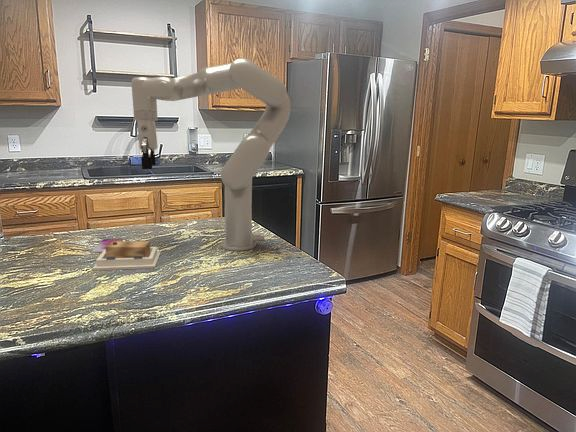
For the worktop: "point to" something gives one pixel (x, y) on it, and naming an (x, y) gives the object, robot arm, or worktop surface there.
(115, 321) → the worktop surface
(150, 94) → the robot arm
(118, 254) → the door panel
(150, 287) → the worktop surface
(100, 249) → the smartphone
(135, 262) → the cabinet frame
